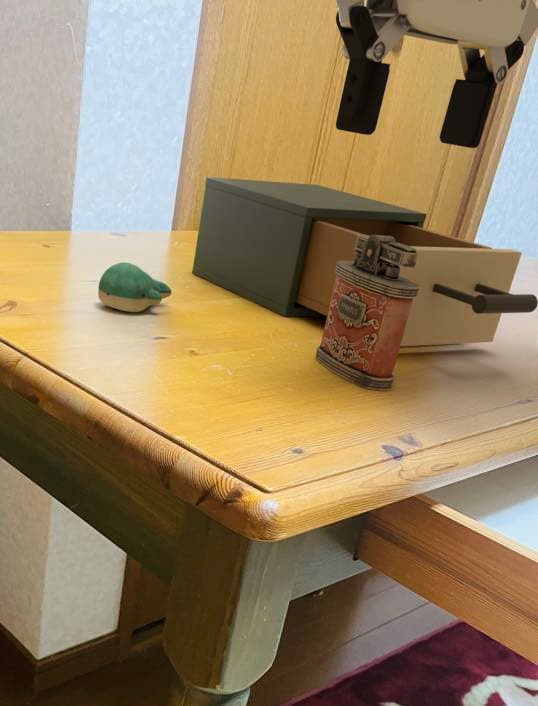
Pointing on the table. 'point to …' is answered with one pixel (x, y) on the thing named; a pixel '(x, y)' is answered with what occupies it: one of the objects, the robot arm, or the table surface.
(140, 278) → the whale figurine
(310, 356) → the table surface
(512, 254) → the drawer
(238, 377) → the table surface
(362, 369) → the lighter
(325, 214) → the cabinet
